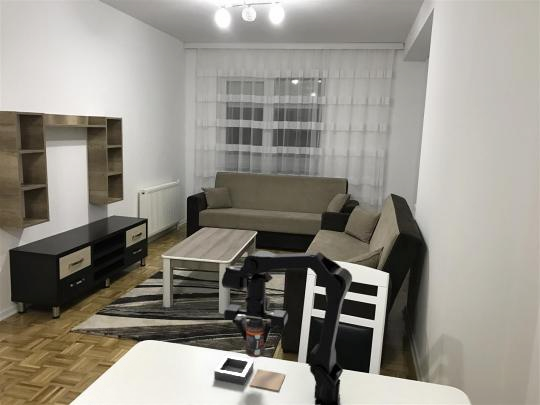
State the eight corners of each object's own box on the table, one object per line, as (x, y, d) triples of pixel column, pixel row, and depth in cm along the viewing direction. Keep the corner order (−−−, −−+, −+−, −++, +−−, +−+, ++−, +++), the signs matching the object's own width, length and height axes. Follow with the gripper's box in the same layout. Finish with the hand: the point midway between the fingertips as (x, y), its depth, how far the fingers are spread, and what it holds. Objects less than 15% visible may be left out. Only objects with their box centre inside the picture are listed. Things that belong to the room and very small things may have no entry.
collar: (253, 368, 146) (253, 360, 146) (244, 385, 137) (244, 376, 137) (225, 363, 149) (225, 355, 148) (214, 379, 140) (214, 370, 139)
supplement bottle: (262, 359, 136) (263, 324, 134) (243, 357, 137) (243, 322, 135) (266, 349, 142) (267, 315, 140) (248, 347, 143) (248, 313, 141)
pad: (285, 375, 144) (285, 374, 143) (278, 391, 135) (278, 390, 135) (258, 370, 146) (258, 369, 146) (249, 386, 137) (249, 384, 137)
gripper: (292, 287, 141) (290, 333, 144) (235, 280, 146) (235, 326, 149) (284, 300, 131) (282, 350, 134) (223, 293, 135) (223, 341, 138)
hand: (255, 341), depth 139 cm, fingers closed on supplement bottle, 6 cm apart
